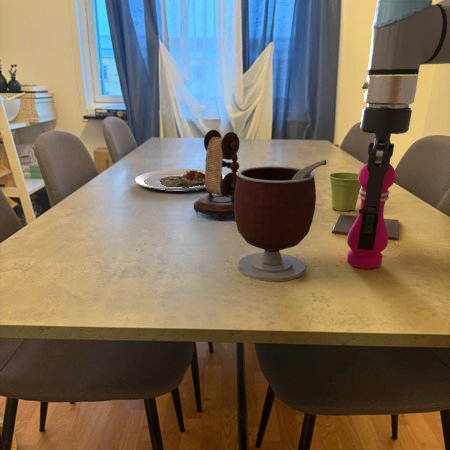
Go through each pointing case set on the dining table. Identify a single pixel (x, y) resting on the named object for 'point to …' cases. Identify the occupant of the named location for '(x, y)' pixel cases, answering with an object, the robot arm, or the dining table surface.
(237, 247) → the dining table surface
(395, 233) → the coaster board
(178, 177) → the plated food
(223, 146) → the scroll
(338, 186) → the plant pot
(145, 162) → the dining table surface
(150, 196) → the dining table surface
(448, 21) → the robot arm
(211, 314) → the dining table surface
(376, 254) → the pepper mill
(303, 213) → the mate gourd
